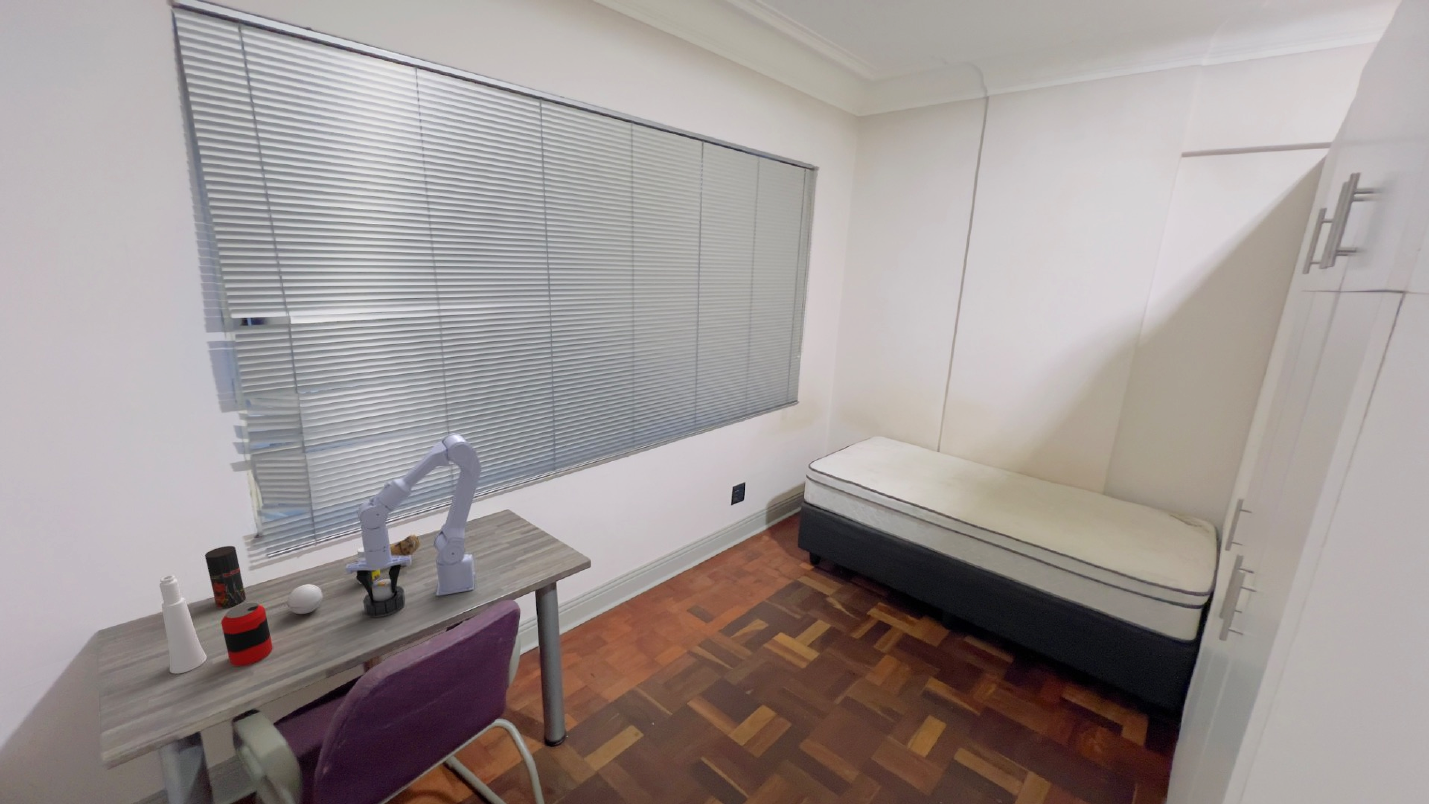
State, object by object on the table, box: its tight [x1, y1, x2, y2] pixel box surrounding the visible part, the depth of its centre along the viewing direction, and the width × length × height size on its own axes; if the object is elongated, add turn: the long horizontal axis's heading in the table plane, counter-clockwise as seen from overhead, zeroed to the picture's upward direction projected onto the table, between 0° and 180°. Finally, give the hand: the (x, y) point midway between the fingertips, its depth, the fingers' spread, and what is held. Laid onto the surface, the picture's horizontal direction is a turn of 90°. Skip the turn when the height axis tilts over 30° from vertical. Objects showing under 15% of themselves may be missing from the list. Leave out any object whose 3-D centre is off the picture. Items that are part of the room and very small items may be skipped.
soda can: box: [220, 602, 273, 667], centre depth 123 cm, size 8×8×12 cm
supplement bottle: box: [354, 545, 382, 585], centre depth 153 cm, size 6×6×10 cm
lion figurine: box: [390, 534, 421, 567], centre depth 163 cm, size 15×5×9 cm, turn 103°
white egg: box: [278, 583, 323, 615], centre depth 138 cm, size 10×7×7 cm
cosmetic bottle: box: [159, 574, 208, 675], centre depth 118 cm, size 6×6×22 cm
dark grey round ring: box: [362, 585, 406, 619], centre depth 142 cm, size 9×9×4 cm
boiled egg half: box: [371, 578, 394, 603], centre depth 141 cm, size 5×5×4 cm
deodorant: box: [204, 545, 247, 610], centre depth 142 cm, size 6×6×15 cm
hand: (383, 592), depth 141 cm, fingers closed on boiled egg half, 5 cm apart
